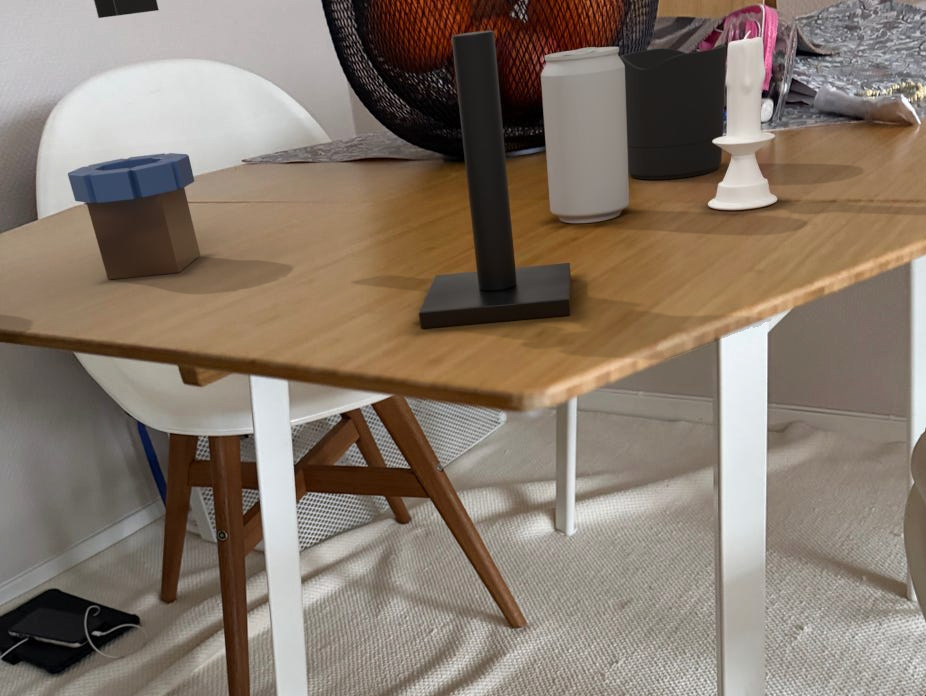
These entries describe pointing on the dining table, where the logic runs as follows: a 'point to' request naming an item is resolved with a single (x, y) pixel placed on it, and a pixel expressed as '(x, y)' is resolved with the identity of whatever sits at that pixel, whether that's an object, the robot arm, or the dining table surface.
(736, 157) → the candle
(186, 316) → the dining table surface
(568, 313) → the post stand
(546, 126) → the beverage can
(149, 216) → the brown matte cube
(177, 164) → the ring
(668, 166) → the pen holder
